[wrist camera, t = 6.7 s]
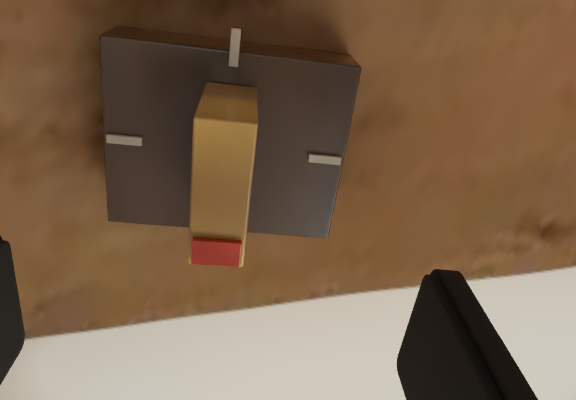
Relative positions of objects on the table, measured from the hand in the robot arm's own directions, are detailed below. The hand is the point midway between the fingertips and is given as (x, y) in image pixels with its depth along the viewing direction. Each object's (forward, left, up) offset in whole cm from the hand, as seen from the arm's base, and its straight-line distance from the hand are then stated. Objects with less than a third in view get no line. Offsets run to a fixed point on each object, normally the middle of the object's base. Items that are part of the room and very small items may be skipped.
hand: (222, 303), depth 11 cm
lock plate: (0, 0, -13) cm, 13 cm away
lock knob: (0, 0, -10) cm, 10 cm away
